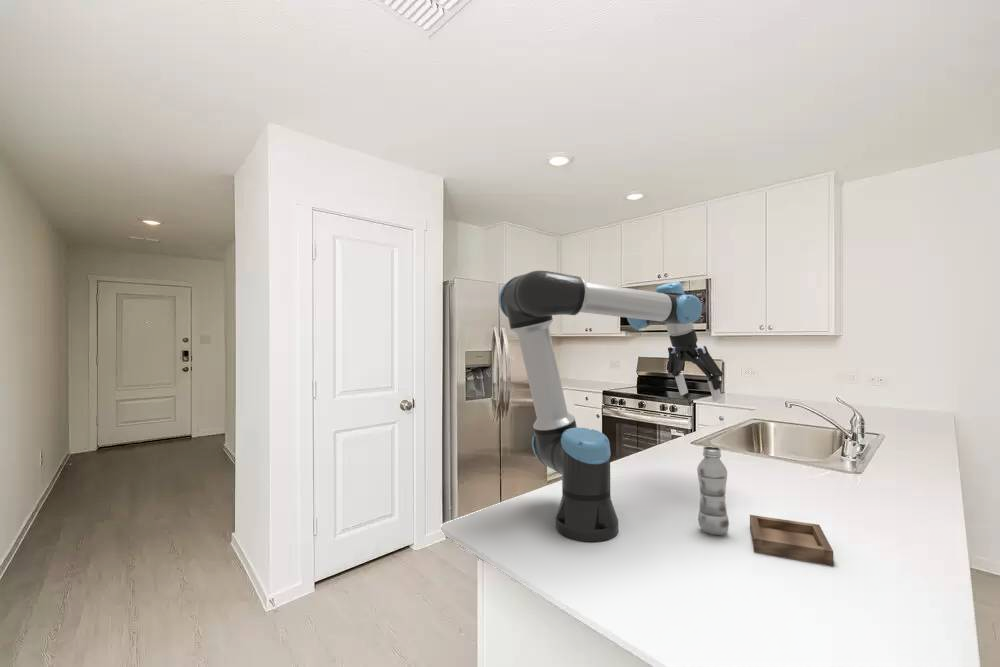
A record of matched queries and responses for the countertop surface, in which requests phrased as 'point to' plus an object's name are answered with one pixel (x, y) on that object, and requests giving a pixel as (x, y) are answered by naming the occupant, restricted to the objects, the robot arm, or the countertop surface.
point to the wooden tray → (790, 540)
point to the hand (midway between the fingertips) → (700, 396)
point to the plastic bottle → (712, 492)
